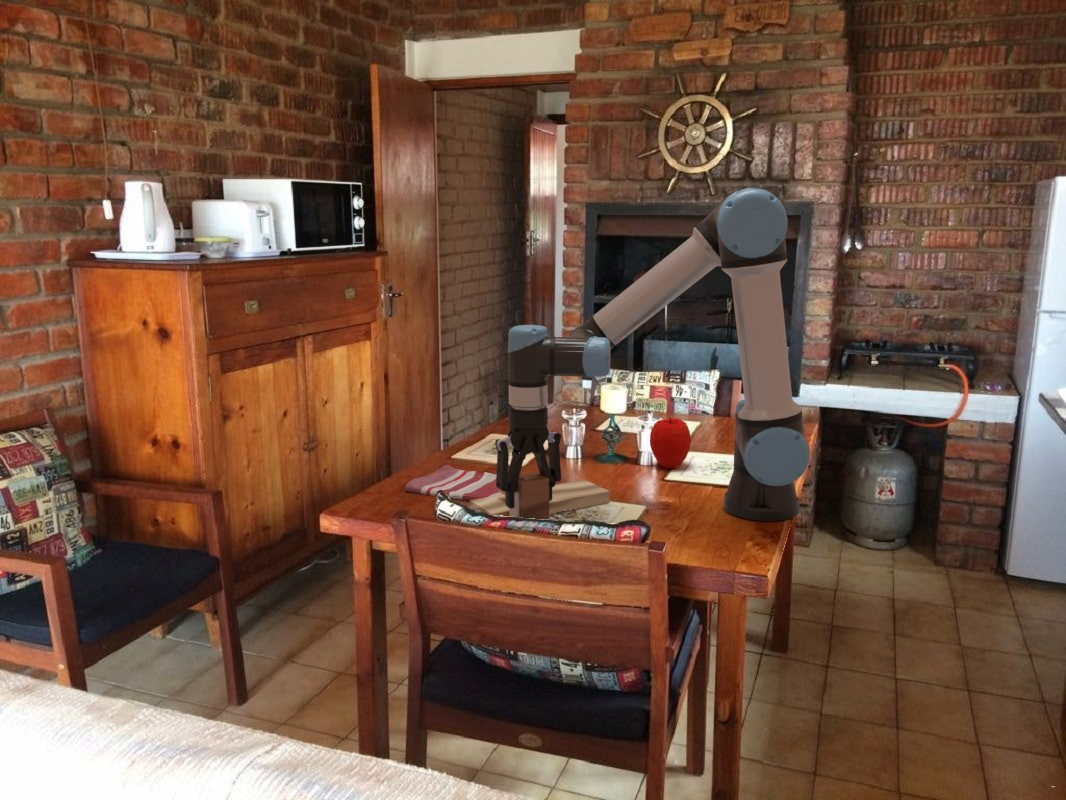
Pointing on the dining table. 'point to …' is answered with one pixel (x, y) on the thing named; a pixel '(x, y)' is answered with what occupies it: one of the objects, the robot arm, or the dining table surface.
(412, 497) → the dining table surface
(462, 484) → the dish towel
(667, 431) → the apple
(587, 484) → the board
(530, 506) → the brown wooden block
